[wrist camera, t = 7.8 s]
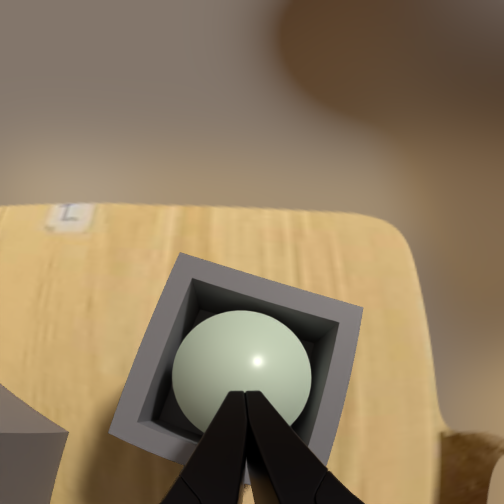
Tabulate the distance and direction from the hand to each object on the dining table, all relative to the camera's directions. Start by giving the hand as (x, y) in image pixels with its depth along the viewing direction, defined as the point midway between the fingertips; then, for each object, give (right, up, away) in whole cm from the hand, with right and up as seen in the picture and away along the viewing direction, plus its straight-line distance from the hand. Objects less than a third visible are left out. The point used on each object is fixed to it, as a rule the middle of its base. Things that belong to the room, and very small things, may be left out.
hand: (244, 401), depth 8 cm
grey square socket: (-1, -4, +10) cm, 10 cm away
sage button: (0, -1, +4) cm, 4 cm away
